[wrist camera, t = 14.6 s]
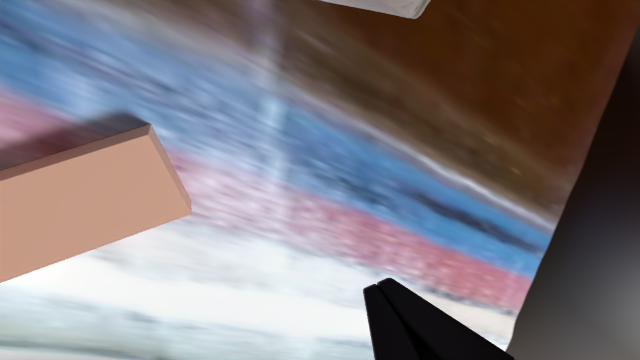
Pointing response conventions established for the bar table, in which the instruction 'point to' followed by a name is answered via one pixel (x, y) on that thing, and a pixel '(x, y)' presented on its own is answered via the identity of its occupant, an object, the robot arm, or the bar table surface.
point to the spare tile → (86, 200)
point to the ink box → (388, 6)
